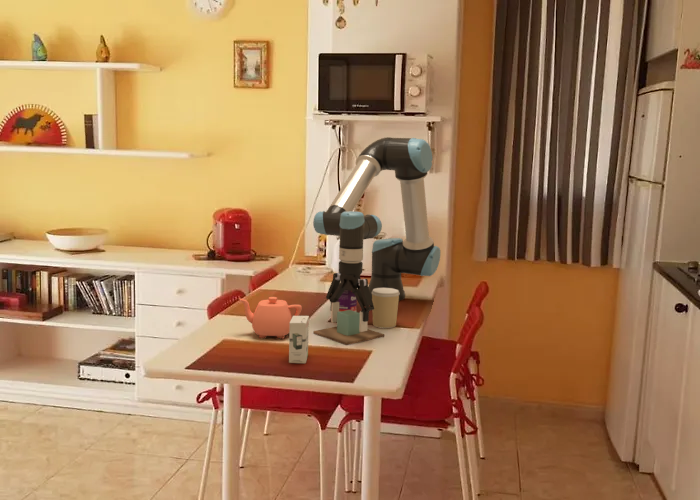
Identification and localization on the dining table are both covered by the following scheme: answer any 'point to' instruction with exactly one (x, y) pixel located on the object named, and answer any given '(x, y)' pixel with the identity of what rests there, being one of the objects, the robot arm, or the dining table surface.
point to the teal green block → (348, 322)
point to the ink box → (298, 339)
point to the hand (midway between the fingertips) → (348, 326)
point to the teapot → (271, 317)
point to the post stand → (351, 339)
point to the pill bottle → (347, 301)
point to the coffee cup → (385, 307)
